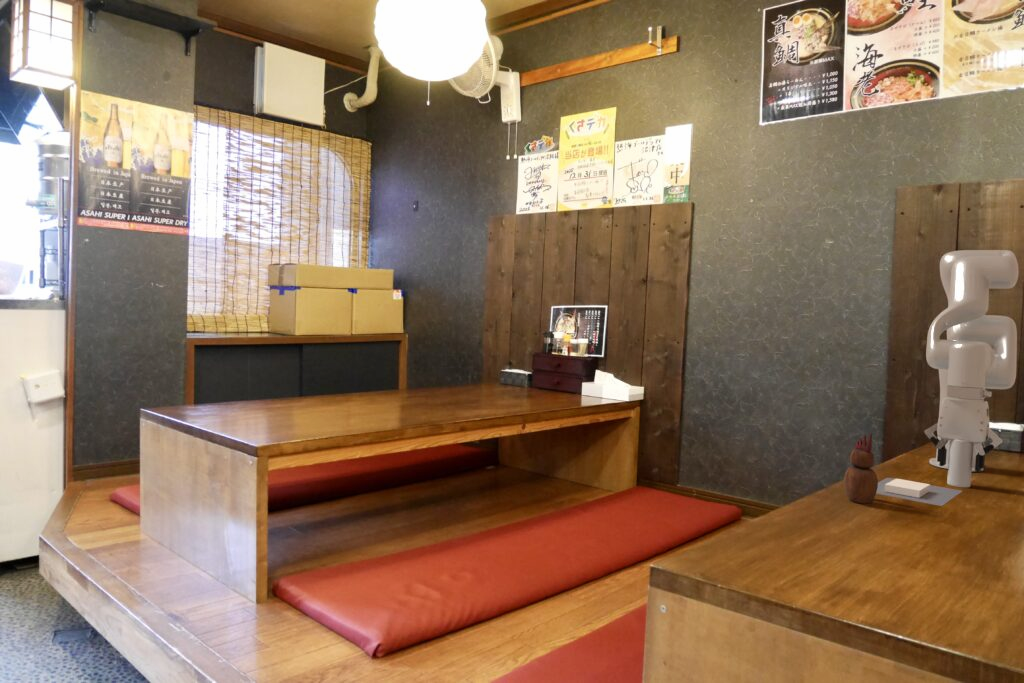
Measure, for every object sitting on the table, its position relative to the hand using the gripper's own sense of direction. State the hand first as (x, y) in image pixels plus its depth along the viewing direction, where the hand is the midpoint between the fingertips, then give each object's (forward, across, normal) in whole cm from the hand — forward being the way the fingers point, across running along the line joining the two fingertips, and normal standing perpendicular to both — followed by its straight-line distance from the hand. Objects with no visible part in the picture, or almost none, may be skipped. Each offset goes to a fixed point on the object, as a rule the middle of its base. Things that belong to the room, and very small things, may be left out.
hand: (960, 467), depth 169 cm
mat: (+5, +6, +16) cm, 18 cm away
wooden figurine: (+5, +12, +35) cm, 37 cm away
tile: (+3, +6, +14) cm, 16 cm away
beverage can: (+5, 0, 0) cm, 5 cm away
